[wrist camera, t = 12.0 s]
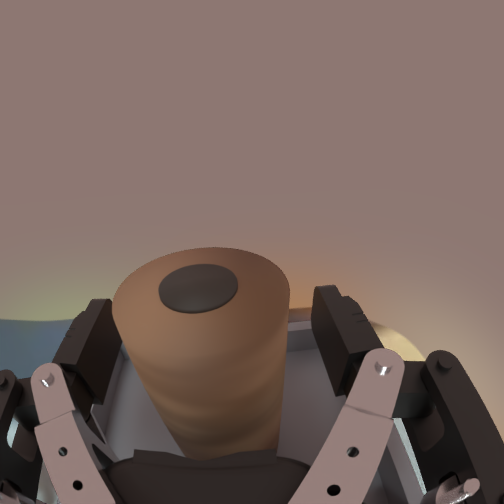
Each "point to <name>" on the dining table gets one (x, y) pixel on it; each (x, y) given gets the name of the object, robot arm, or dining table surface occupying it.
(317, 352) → the tray
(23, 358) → the dining table surface
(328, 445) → the robot arm
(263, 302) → the cylinder
